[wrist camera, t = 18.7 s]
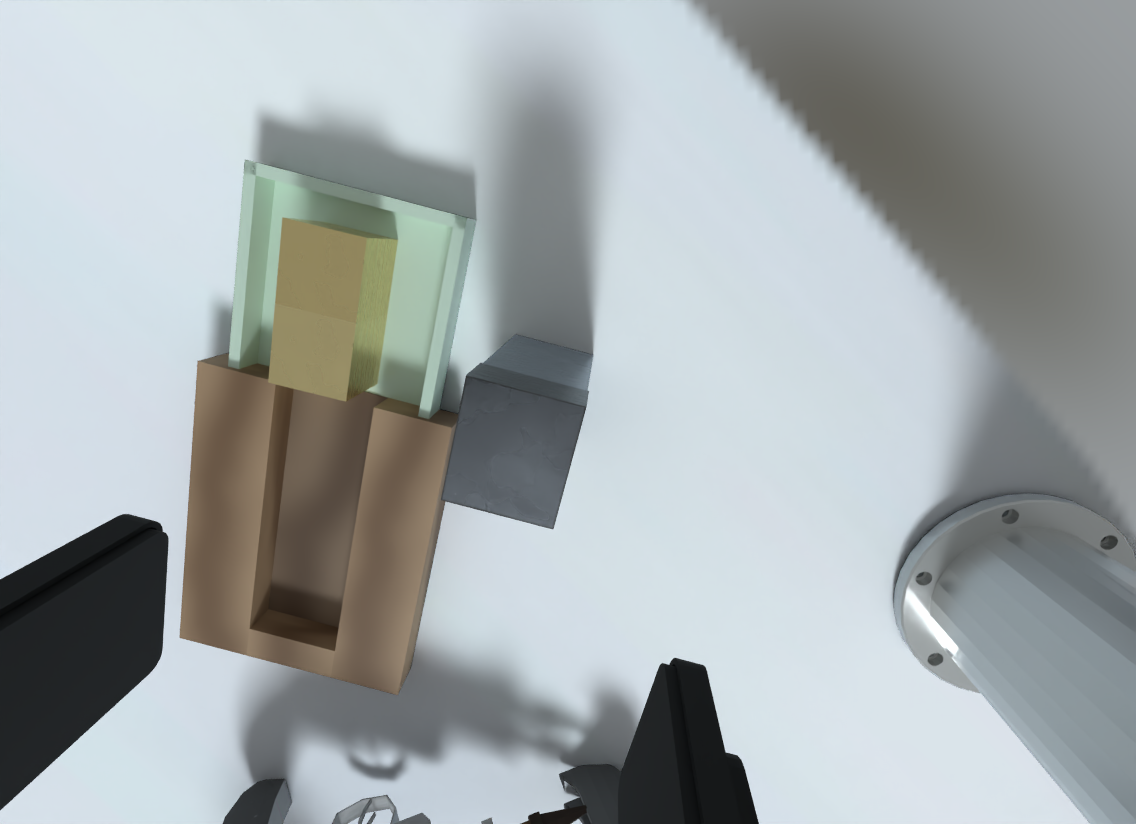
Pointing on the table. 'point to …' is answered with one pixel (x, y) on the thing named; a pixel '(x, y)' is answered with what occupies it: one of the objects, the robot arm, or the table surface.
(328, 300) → the tan wooden cube
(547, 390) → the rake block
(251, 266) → the tray
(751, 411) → the table surface
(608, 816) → the gun
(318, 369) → the olive yellow cube
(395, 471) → the slot board
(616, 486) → the table surface
